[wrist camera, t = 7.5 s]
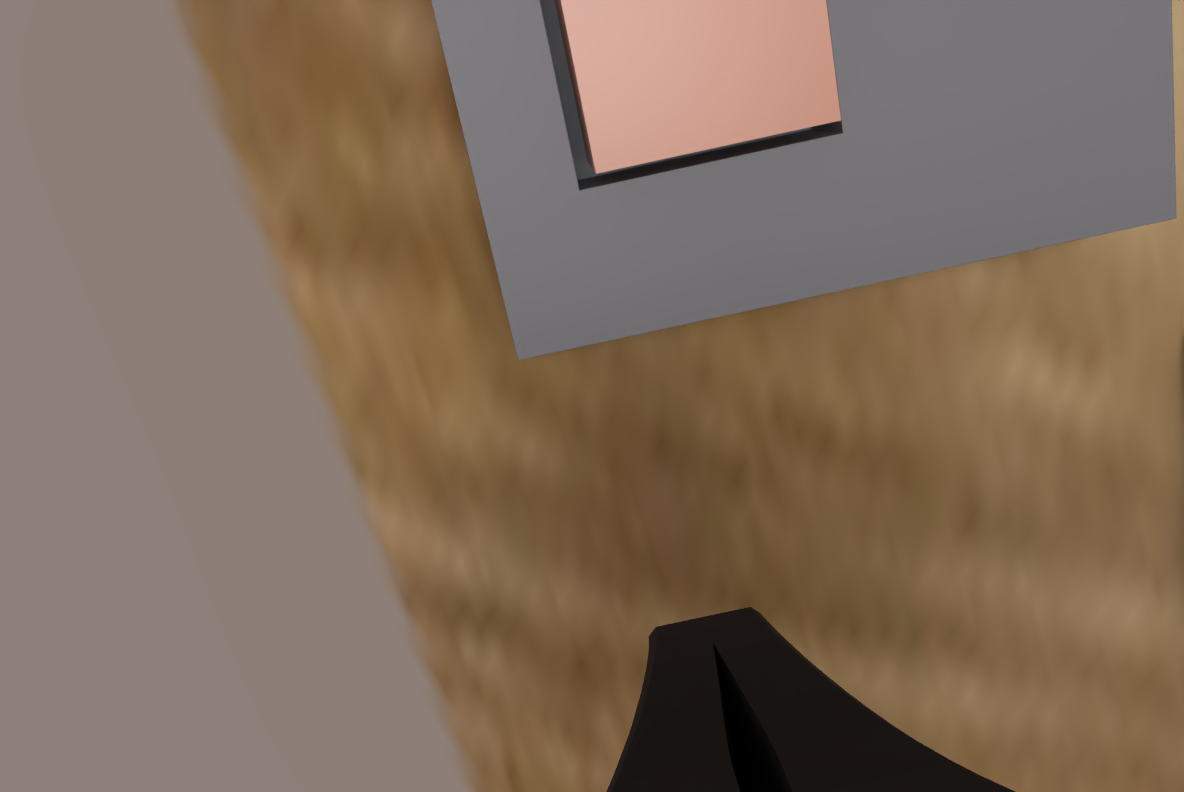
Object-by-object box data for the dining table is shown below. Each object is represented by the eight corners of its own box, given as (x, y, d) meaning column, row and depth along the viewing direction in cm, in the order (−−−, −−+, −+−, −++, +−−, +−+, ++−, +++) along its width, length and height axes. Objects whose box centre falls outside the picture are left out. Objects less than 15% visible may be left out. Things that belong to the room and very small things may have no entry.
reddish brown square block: (762, -114, 17) (806, -157, 14) (794, 116, 18) (840, 120, 15) (541, -65, 17) (541, -97, 14) (587, 162, 18) (595, 173, 15)
